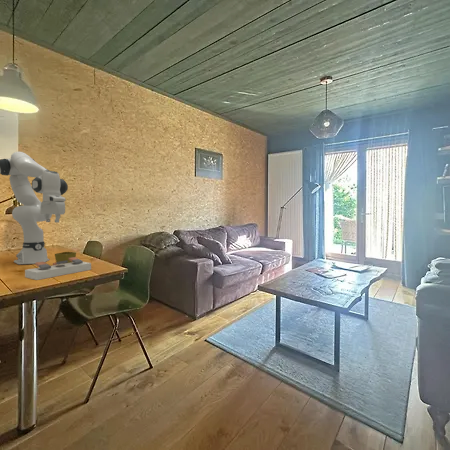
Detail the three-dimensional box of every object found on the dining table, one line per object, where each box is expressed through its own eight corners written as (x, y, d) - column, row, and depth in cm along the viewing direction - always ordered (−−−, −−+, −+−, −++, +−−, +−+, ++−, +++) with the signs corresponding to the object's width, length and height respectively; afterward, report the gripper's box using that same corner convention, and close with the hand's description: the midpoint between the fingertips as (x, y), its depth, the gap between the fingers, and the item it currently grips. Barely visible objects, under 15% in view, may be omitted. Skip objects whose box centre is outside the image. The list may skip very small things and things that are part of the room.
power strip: (25, 277, 141) (24, 269, 141) (84, 266, 170) (84, 259, 170) (36, 280, 135) (36, 271, 135) (96, 268, 165) (96, 261, 164)
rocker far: (68, 259, 159) (68, 257, 159) (75, 258, 163) (75, 257, 163) (76, 264, 155) (76, 262, 155) (82, 262, 159) (82, 261, 159)
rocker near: (35, 264, 144) (35, 262, 143) (43, 263, 147) (43, 261, 147) (42, 269, 140) (42, 267, 140) (50, 268, 143) (50, 266, 143)
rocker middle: (52, 265, 151) (52, 263, 151) (60, 264, 155) (59, 262, 155) (60, 263, 147) (60, 261, 148) (67, 262, 151) (67, 260, 151)
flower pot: (66, 268, 165) (66, 254, 164) (54, 267, 166) (54, 253, 166) (76, 265, 173) (76, 252, 173) (65, 265, 175) (65, 251, 175)
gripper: (36, 198, 156) (37, 222, 156) (55, 197, 145) (56, 222, 146) (48, 199, 161) (48, 221, 162) (67, 198, 151) (67, 222, 151)
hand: (52, 222), depth 154 cm, fingers open, 8 cm apart
